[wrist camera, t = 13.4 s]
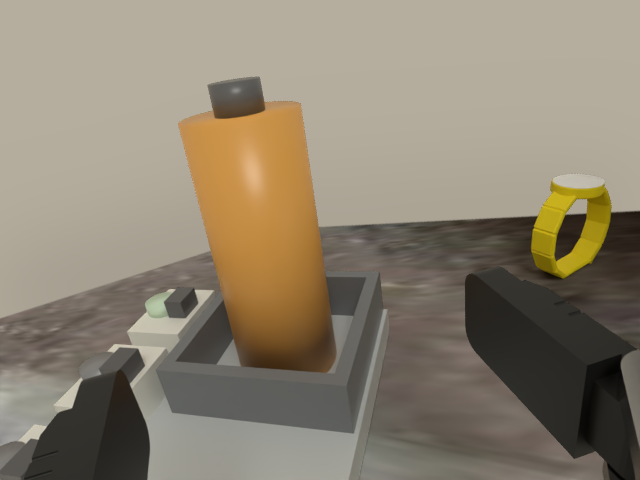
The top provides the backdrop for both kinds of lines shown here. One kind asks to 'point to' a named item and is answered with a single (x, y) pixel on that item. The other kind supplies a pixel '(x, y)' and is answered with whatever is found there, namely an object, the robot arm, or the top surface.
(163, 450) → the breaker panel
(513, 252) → the top surface
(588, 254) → the watch
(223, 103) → the orange thermos flask
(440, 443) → the top surface
